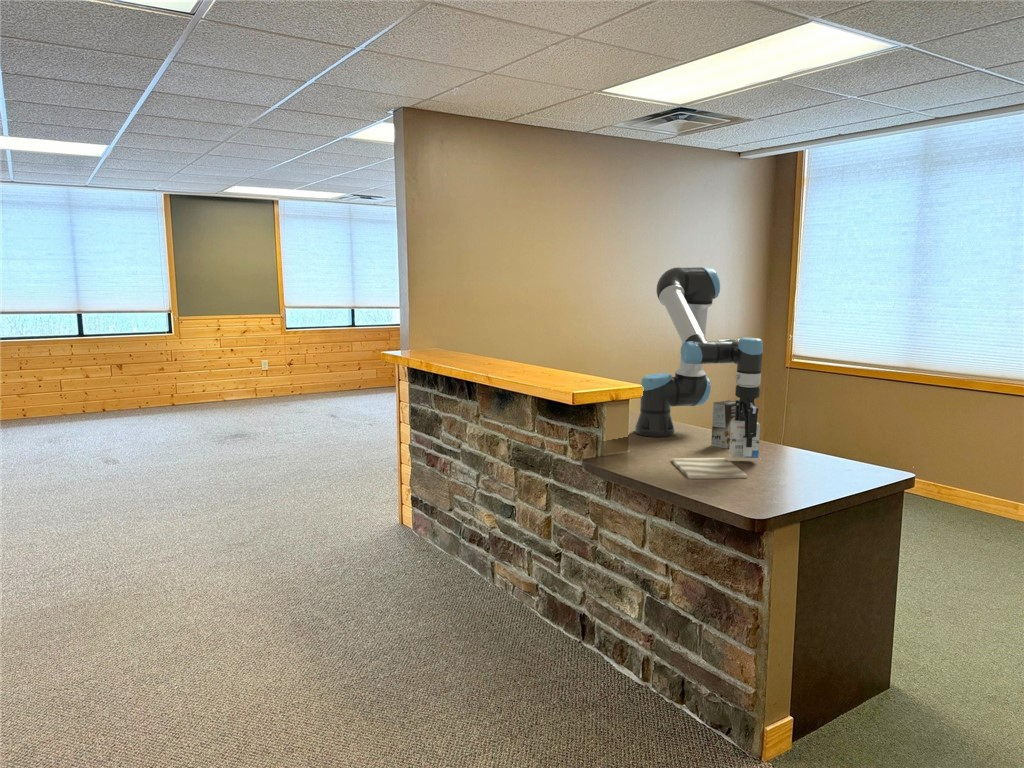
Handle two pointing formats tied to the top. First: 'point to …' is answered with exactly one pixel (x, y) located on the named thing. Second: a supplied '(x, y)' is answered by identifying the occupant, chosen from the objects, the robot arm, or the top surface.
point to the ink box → (742, 440)
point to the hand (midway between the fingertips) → (743, 453)
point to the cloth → (708, 468)
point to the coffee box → (722, 423)
